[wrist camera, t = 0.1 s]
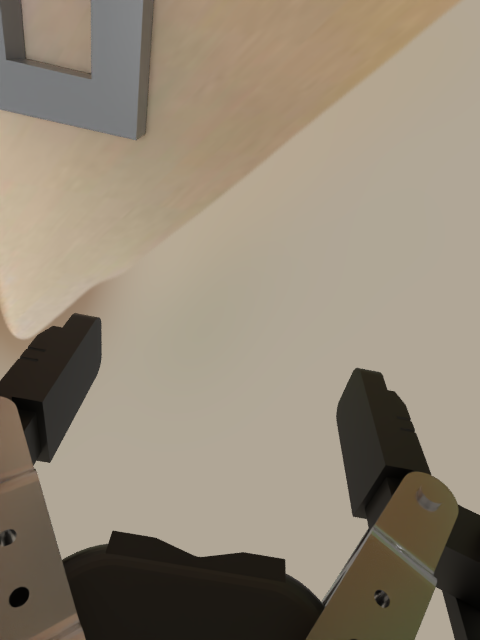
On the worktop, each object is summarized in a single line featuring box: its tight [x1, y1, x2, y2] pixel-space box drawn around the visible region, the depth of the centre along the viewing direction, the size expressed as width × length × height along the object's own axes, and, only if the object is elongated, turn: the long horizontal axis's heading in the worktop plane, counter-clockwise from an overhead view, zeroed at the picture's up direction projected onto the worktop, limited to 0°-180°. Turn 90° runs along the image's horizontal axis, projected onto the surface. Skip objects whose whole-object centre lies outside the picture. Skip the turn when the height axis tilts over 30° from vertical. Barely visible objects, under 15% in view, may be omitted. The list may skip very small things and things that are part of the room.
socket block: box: [0, 0, 154, 140], centre depth 31 cm, size 14×14×3 cm
